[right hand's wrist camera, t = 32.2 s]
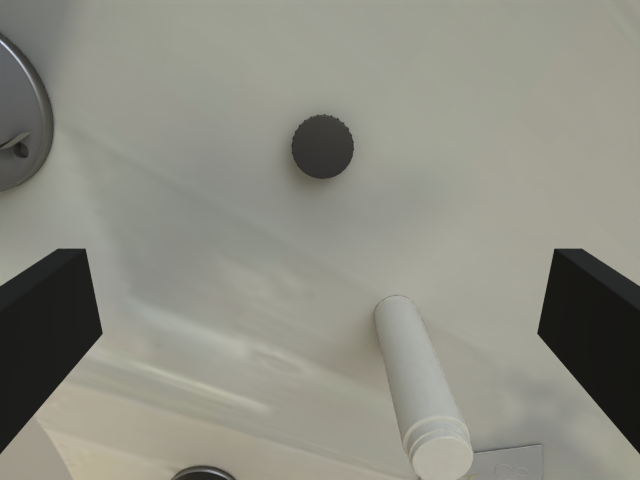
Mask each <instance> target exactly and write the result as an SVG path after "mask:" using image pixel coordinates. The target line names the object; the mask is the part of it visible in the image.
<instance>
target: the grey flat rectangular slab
mask: <svg viewBox="0 0 640 480" xmlns="http://www.w3.org/2000/svg"><path fill="white" fill-rule="evenodd" d="M542 473H543V445H534V446H526V447H518V448H510V449H502V450H495V451H487V452H479V453H473V461H472V464H471V467H470V468H469V470H468V471H467V472H466V473H465V474H464V475H463V476H462V477H460V478H458V479H456V480H542ZM420 480H424V479H422V478H421V477H420Z"/></svg>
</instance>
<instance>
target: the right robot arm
mask: <svg viewBox="0 0 640 480" xmlns="http://www.w3.org/2000/svg"><path fill="white" fill-rule="evenodd" d="M52 137H53V116H52V109H51V104H50V101H49V97H48V94H47V92H46V89H45V87H44V85H43V82H42V80H41V78H40V77H39V75H38V73H37V72H36V70H35V68H34V67H33V65H32V64H31V63H30V61H29V60H28V59H27V57H26V56H25V55H24V54H23V53H22V52H21V51H20V50H19V49H18V48H17V47H16V45H14V44H13V43H12V42H11V41H10V40H9V39H8V38H6V37H5V36H4V35H2V34H1V33H0V191H3V190H6V189H9V188H12V187H14V186H17V185H19V184H21V183H23V182H24V181H26V180H28V179H29V178H30V177H31V176H33V175H34V174H35V173H36V172H37V171H38V169H39V168H40V167H41V166H42V164H43V162H44V161H45V159H46V157H47V155H48V153H49V150H50V146H51V142H52ZM102 334H103V333H102V328H101V323H100V318H99V313H98V308H97V303H96V298H95V293H94V288H93V283H92V278H91V273H90V268H89V264H88V259H87V254H86V249H57V250H55V251H54V252H52V253H51V254H49V255H48V256H46V257H45V258H43V259H42V260H40V261H38V262H37V263H35V264H34V265H32V266H31V267H29V268H28V269H26V270H25V271H23V272H22V273H20V274H19V275H17V276H15V277H14V278H12V279H11V280H9V281H8V282H6V283H5V284H3V285H2V286H0V454H1V453H2V451H3V450H4V449H5V448H6V447H7V446H8V444H9V443H10V442H11V441H12V440H13V438H14V437H15V436H16V435H17V434H18V433H19V431H20V430H21V429H22V428H23V427H24V426H25V424H26V423H27V422H28V421H29V420H30V418H31V417H32V416H33V415H34V414H35V413H36V411H37V410H38V409H39V408H40V407H41V406H42V404H43V403H44V402H45V401H46V400H47V399H48V397H49V396H50V395H51V394H52V393H53V391H54V390H55V389H56V388H57V387H58V386H59V384H60V383H61V382H62V381H63V380H64V379H65V377H66V376H67V375H68V374H69V373H70V371H71V370H72V369H73V368H74V367H75V366H76V364H77V363H78V362H79V361H80V360H81V359H82V357H83V356H84V355H85V354H86V353H87V351H88V350H89V349H90V348H91V347H92V346H93V344H94V343H95V342H96V341H97V340H98V339H99V337H100V336H101V335H102ZM537 334H538V335H539V336H540V337H541V339H542V340H543V341H544V342H545V343H546V344H547V346H548V347H549V348H550V349H551V350H552V351H553V353H554V354H555V355H556V356H557V357H558V359H559V360H560V361H561V362H562V363H563V364H564V366H565V367H566V368H567V369H568V370H569V371H570V373H571V374H572V375H573V376H574V377H575V379H576V380H577V381H578V382H579V383H580V384H581V386H582V387H583V388H584V389H585V390H586V391H587V393H588V394H589V395H590V396H591V397H592V399H593V400H594V401H595V402H596V403H597V404H598V406H599V407H600V408H601V409H602V410H603V411H604V413H605V414H606V415H607V416H608V417H609V419H610V420H611V421H612V422H613V423H614V424H615V426H616V427H617V428H618V429H619V430H620V431H621V433H622V434H623V435H624V436H625V437H626V438H627V440H628V441H629V442H630V443H631V444H632V446H633V447H634V448H635V449H636V450H637V451H638V453H639V454H640V286H638V285H637V284H635V283H634V282H632V281H631V280H629V279H628V278H626V277H625V276H623V275H621V274H620V273H618V272H617V271H615V270H614V269H612V268H611V267H609V266H608V265H606V264H605V263H603V262H602V261H600V260H598V259H597V258H595V257H594V256H592V255H591V254H589V253H588V252H586V251H585V250H583V249H554V254H553V259H552V264H551V268H550V273H549V278H548V283H547V288H546V293H545V298H544V303H543V308H542V313H541V318H540V323H539V328H538V333H537Z"/></svg>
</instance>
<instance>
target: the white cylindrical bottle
mask: <svg viewBox="0 0 640 480" xmlns="http://www.w3.org/2000/svg"><path fill="white" fill-rule="evenodd" d="M374 320H375V325H376V329H377V333H378V338H379V342H380V347H381V351H382V356H383V360H384V365H385V369H386V373H387V378H388V382H389V387H390V391H391V396H392V400H393V405H394V409H395V413H396V418H397V422H398V427H399V431H400V436H401V440H402V444H403V449H404V452H405V454H406V455H407V456H408V458H409V461H410V464H411V466H412V468H413V469H414V471H415V472H416V474H417V475H418V476H419V477H421V478H422V479H424V480H456V479H458V478H460V477H462V476H463V475H464V474H465V473H466V472H467V471H468V470H469V468H470V467H471V464H472V461H473V450H472V447H471V445H470V434H469V431H468V429H467V426H466V424H465V422H464V419H463V417H462V415H461V412H460V410H459V407H458V405H457V403H456V400H455V398H454V396H453V393H452V391H451V388H450V386H449V384H448V381H447V379H446V377H445V374H444V372H443V369H442V367H441V365H440V362H439V360H438V358H437V355H436V353H435V350H434V348H433V346H432V343H431V341H430V338H429V336H428V334H427V331H426V329H425V327H424V324H423V322H422V319H421V317H420V315H419V312H418V310H417V308H416V306H415V304H414V303H413V302H412V301H411V300H410V299H408V298H406V297H403V296H391V297H388V298H386V299H384V300H382V301H381V302H380V303H379V304H378V305H377V307H376V309H375V312H374Z"/></svg>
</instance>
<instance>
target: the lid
mask: <svg viewBox="0 0 640 480" xmlns="http://www.w3.org/2000/svg"><path fill="white" fill-rule="evenodd" d="M348 130H349V129H348V127H346V126H345V125H344V123H343V122H341V121H340V120H339V119H338V118H337V119H336V118H334V117H332V116H327V115H325V114H324V115H317V116H314V117H312V116H311V117H310V118H309V119H307V120H304V122H303V123H302V124H301V125H299V128H298V130H296V131H295V133H296V134H295V136H294V137H293V143H292V153H293V157H294V160H295V162H296V163H297V165H298V166H299V168H300V169H301V170H302V171H303V172H305V173H306V174H308V175H309V176H312V177H315V178H320V179H325V178H331V177H334V176H336V175H338V174H340V173H341V172H342V171H343V170H344V169H345V168H346V167H347V166H348V164H349V163H350V161H351V158H352V156H353V150H354V148H353V143H354V142H353V140H352V137H351V136H352V135H351V133H350V132H349V131H348Z"/></svg>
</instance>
